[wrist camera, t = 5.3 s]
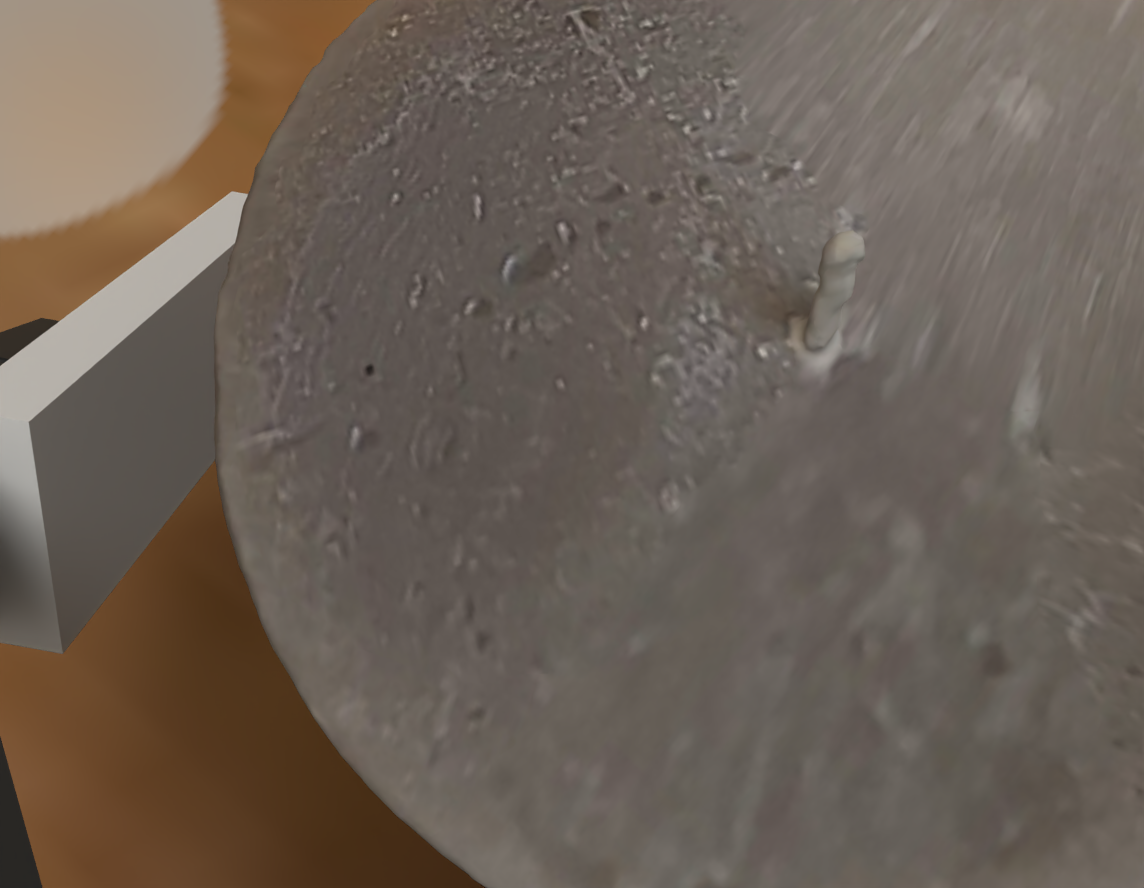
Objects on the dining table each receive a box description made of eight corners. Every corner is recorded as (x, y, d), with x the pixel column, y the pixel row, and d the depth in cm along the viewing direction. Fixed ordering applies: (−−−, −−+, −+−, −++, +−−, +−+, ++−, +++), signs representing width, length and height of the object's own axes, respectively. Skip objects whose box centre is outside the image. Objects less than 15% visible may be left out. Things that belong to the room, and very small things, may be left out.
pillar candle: (321, 505, 22) (-146, 106, 7) (701, 254, 23) (959, -503, 9) (596, 922, 20) (727, 1531, 5) (988, 622, 21) (1930, 453, 7)
